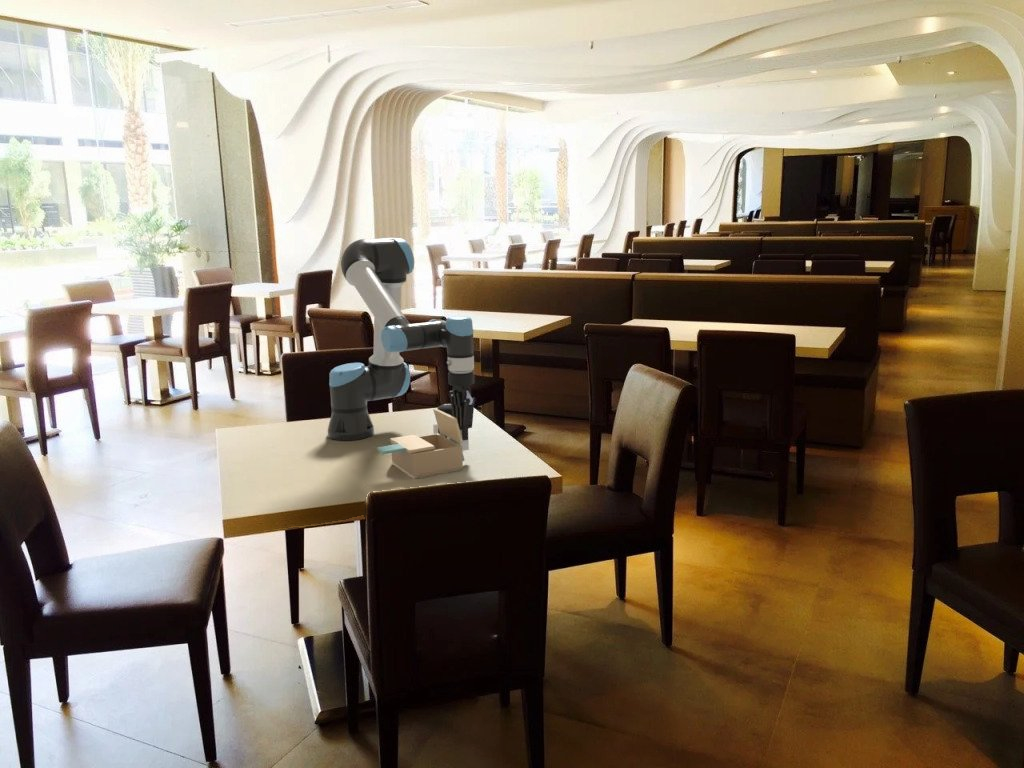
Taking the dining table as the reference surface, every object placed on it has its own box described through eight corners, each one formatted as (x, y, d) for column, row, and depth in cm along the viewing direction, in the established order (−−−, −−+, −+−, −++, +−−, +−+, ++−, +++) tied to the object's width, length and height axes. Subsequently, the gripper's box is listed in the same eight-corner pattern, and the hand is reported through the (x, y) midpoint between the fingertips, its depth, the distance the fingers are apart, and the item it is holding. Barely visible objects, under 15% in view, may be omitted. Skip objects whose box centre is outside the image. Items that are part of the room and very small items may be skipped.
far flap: (433, 409, 243) (435, 408, 243) (445, 451, 247) (447, 450, 247) (454, 419, 230) (456, 418, 231) (466, 463, 235) (468, 462, 235)
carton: (392, 463, 240) (390, 440, 239) (438, 455, 247) (437, 433, 246) (414, 479, 226) (412, 454, 225) (462, 469, 233) (462, 446, 232)
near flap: (368, 444, 234) (368, 441, 234) (414, 437, 241) (414, 434, 241) (386, 456, 222) (386, 454, 222) (434, 448, 229) (434, 445, 229)
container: (457, 449, 253) (456, 408, 251) (433, 448, 255) (432, 408, 252) (464, 442, 261) (462, 402, 258) (440, 441, 262) (439, 402, 260)
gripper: (439, 368, 238) (442, 446, 243) (459, 376, 227) (461, 457, 232) (462, 365, 242) (465, 442, 247) (483, 373, 231) (485, 453, 236)
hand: (463, 449), depth 240 cm, fingers closed
